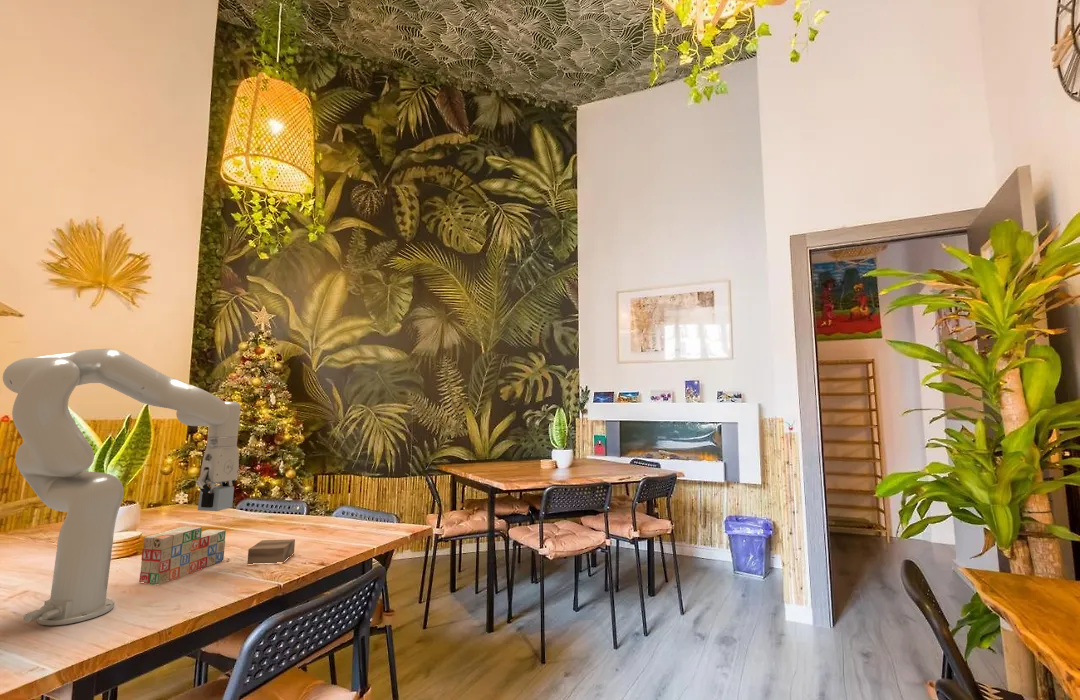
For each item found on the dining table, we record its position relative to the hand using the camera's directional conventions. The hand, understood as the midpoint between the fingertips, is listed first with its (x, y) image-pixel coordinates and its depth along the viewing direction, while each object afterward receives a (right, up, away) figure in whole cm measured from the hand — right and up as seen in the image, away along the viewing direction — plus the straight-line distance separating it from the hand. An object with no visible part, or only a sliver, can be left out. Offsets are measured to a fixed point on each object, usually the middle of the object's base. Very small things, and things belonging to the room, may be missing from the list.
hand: (215, 504), depth 140 cm
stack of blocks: (-8, -19, -2) cm, 21 cm away
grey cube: (0, -1, 0) cm, 1 cm away
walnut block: (+11, -21, +10) cm, 26 cm away
